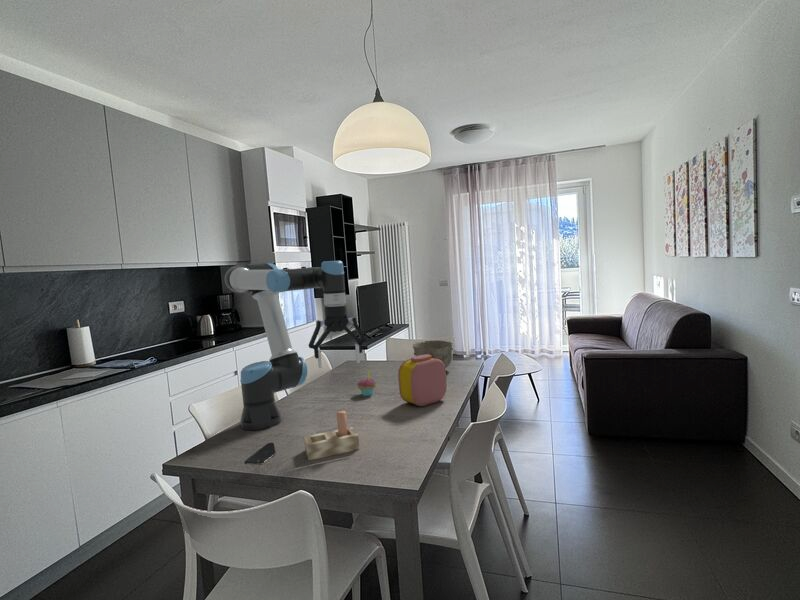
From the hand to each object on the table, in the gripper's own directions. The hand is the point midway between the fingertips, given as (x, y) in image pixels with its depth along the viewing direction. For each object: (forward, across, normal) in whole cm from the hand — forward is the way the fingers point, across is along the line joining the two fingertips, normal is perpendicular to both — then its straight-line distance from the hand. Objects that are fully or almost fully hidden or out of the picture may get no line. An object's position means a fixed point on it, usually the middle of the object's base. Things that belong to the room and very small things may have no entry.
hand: (339, 364), depth 153 cm
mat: (+24, -4, -2) cm, 25 cm away
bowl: (+25, +61, +60) cm, 89 cm away
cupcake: (+25, +18, +39) cm, 50 cm away
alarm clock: (+24, +37, +15) cm, 47 cm away
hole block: (+24, -7, -15) cm, 29 cm away
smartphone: (+25, -27, -7) cm, 37 cm away
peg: (+24, -3, -15) cm, 28 cm away
